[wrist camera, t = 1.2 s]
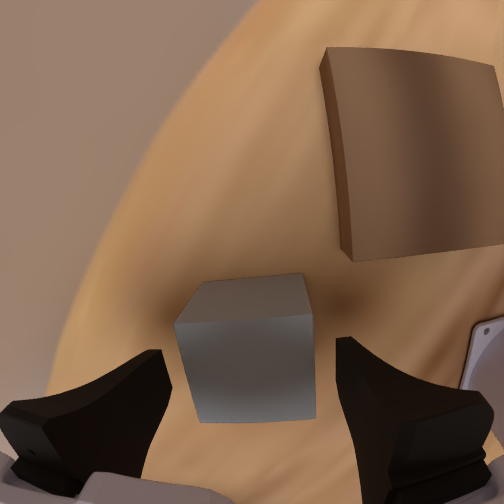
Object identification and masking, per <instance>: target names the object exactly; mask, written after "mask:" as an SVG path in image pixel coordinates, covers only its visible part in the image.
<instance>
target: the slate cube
mask: <svg viewBox="0 0 504 504" xmlns="http://www.w3.org/2000/svg"><path fill="white" fill-rule="evenodd" d="M173 325H174V329H175V334H176V338H177V342H178V346H179V350H180V354H181V358H182V362H183V365H184V369H185V373H186V377H187V380H188V384H189V387H190V391H191V394H192V398H193V401H194V405H195V408H196V411H197V415H198V418H199V421H200V423H261V422H280V421H294V420H305V419H315V418H316V393H315V357H314V333H313V314H312V310H311V306H310V302H309V298H308V294H307V290H306V286H305V282H304V278H303V274H302V273H295V274H285V275H275V276H264V277H254V278H243V279H231V280H220V281H208V282H202V284H201V285H200V287H199V288H198V289H197V291H196V292H195V294H194V295H193V296H192V298H191V299H190V301H189V302H188V303H187V305H186V306H185V308H184V309H183V311H182V312H181V313H180V315H179V316H178V318H177V319H176V320H175V322H174V323H173Z"/></svg>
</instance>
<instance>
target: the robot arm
mask: <svg viewBox="0 0 504 504" xmlns="http://www.w3.org/2000/svg"><path fill="white" fill-rule="evenodd" d="M485 329H486V330H485ZM484 330H485V332H484ZM336 384H337V390H338V395H339V400H340V403H341V406H342V409H343V412H344V415H345V418H346V421H347V424H348V427H349V430H350V433H351V437H352V440H353V444H354V448H355V453H356V459H357V465H358V472H359V478H360V485H361V494H362V503H363V504H504V455H502V456H500V457H498V458H496V459H495V460H493V461H492V462H491V463H490V464H489V465H488V466H487V465H486V463H485V461H484V460H483V459H485V457H486V453H485V451H484V449H483V448H482V446H483V444H484V442H485V440H486V438H487V436H488V434H489V432H490V429H491V430H492V432H493V433H494V435H495V436H496V438H497V439H498V441H499V442H500V444H501V445H502V447H503V449H504V317H501V318H497V319H494V320H490V321H487V322H483V323H479V324H477V325H476V326H475V328H474V329H473V332H472V337H471V343H470V347H469V352H468V357H467V361H466V365H465V370H464V374H463V378H462V381H461V385H460V389H455V388H450V387H445V386H440V385H436V384H433V383H429V382H426V381H424V380H421V379H418V378H415V377H413V376H410V375H408V374H406V373H404V372H402V371H400V370H398V369H396V368H394V367H393V366H391V365H389V364H388V363H386V362H384V361H383V360H381V359H380V358H378V357H377V356H375V355H374V354H373V353H371V352H370V351H369V350H367V349H366V348H365V347H364V346H362V345H361V344H360V343H359V342H357V341H356V340H355V339H354V338H352V337H351V336H349V337H341V338H336ZM172 388H173V387H172V384H171V381H170V378H169V374H168V371H167V368H166V364H165V361H164V357H163V354H162V350H161V349H149V350H146V351H144V352H142V353H141V354H139V355H137V356H136V357H134V358H132V359H131V360H129V361H127V362H126V363H124V364H122V365H121V366H119V367H118V368H116V369H114V370H112V371H111V372H109V373H107V374H105V375H103V376H102V377H100V378H98V379H96V380H94V381H92V382H90V383H88V384H85V385H83V386H80V387H78V388H75V389H72V390H69V391H66V392H63V393H60V394H56V395H52V396H48V397H43V398H37V399H30V400H19V401H12V402H11V403H10V404H9V405H8V406H7V407H6V408H5V409H4V410H3V411H2V412H1V413H0V429H1V431H2V432H3V434H4V436H5V437H6V439H7V440H8V442H9V443H10V445H11V446H12V447H13V449H14V450H15V452H16V453H17V455H18V456H19V458H18V459H17V460H16V461H15V460H14V459H13V458H11V457H10V456H8V455H6V454H4V453H2V452H1V451H0V504H234V503H233V502H232V501H231V500H230V499H229V498H228V497H226V496H224V495H221V494H219V493H217V492H215V491H212V490H209V489H204V488H199V487H194V486H189V485H179V484H171V483H164V482H157V481H151V480H145V479H140V478H141V474H142V470H143V466H144V463H145V459H146V456H147V452H148V449H149V447H150V444H151V442H152V440H153V438H154V435H155V433H156V431H157V429H158V427H159V424H160V422H161V420H162V418H163V416H164V413H165V411H166V409H167V406H168V403H169V400H170V396H171V392H172Z"/></svg>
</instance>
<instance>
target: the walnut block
mask: <svg viewBox="0 0 504 504" xmlns="http://www.w3.org/2000/svg"><path fill="white" fill-rule="evenodd" d="M319 70H320V75H321V81H322V87H323V93H324V99H325V105H326V111H327V118H328V125H329V132H330V140H331V147H332V155H333V164H334V173H335V183H336V193H337V204H338V216H339V229H340V245H341V250H342V251H343V252H344V253H345V254H346V255H347V256H348V257H349V259H350V260H351V261H352V262H361V261H370V260H379V259H388V258H396V257H405V256H413V255H422V254H430V253H438V252H446V251H454V250H462V249H469V248H477V247H485V246H492V245H499V244H504V108H503V103H502V98H501V93H500V89H499V85H498V81H497V77H496V73H495V69H494V66H492V65H488V64H484V63H479V62H475V61H470V60H465V59H460V58H455V57H449V56H444V55H437V54H430V53H423V52H415V51H405V50H394V49H380V48H354V47H327V48H326V51H325V53H324V56H323V59H322V61H321V64H320V67H319Z"/></svg>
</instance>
